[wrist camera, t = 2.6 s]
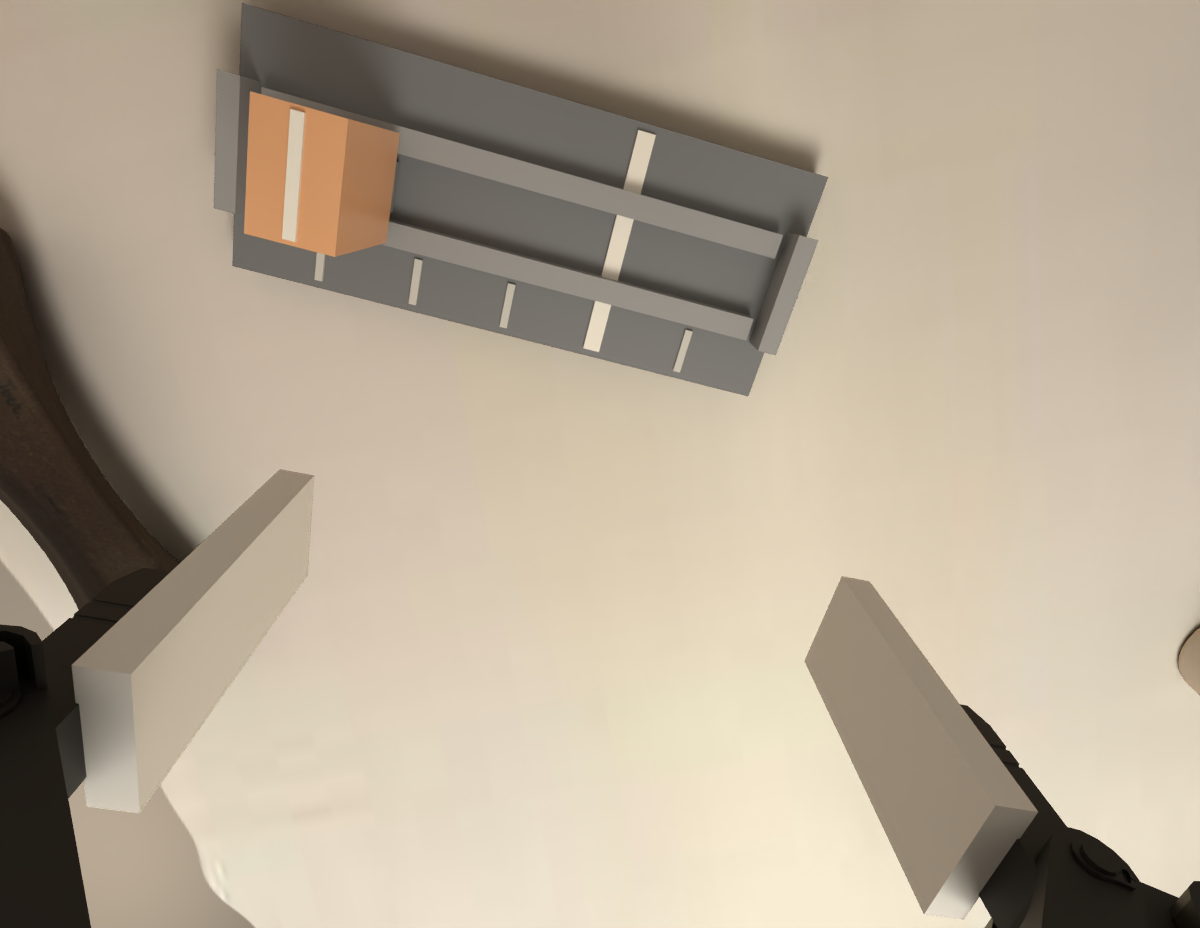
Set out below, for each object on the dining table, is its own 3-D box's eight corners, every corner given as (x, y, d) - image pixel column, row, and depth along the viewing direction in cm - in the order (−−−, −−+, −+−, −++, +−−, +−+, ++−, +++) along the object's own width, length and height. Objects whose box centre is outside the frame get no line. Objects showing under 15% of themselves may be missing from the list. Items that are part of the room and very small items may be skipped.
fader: (337, 115, 31) (247, 90, 23) (409, 136, 32) (346, 118, 24) (328, 221, 33) (242, 233, 25) (396, 240, 34) (333, 257, 25)
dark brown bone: (-66, 219, 37) (226, 576, 51) (-325, 291, 30) (98, 686, 43) (7, 170, 31) (313, 586, 45) (-291, 243, 24) (183, 715, 38)
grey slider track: (262, 13, 32) (219, -10, 28) (815, 177, 35) (842, 176, 31) (250, 261, 36) (212, 270, 32) (740, 386, 39) (756, 407, 36)
